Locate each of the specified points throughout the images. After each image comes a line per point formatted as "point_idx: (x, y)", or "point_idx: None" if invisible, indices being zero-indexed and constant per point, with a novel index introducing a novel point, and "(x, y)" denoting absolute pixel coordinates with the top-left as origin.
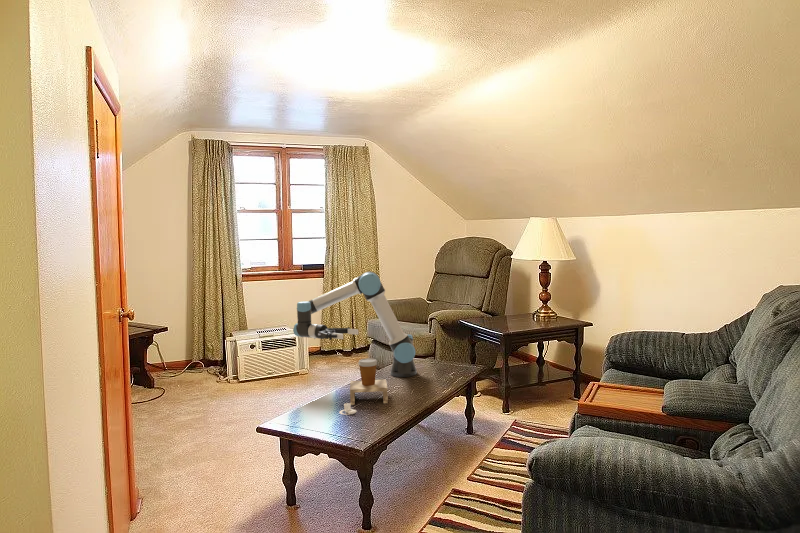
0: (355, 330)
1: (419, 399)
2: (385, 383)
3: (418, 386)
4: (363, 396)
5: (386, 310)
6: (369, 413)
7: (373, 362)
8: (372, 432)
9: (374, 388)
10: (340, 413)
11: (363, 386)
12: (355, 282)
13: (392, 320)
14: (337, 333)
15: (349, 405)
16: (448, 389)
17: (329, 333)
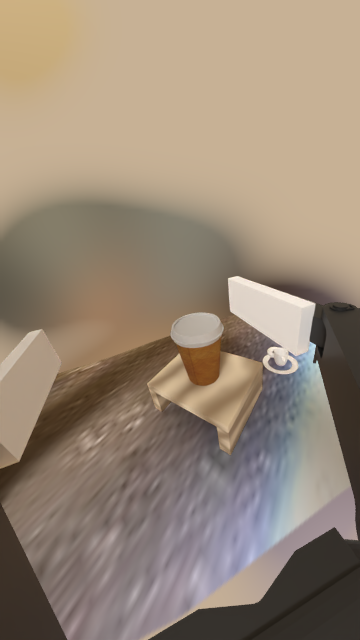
0: (38, 347)
1: (147, 356)
2: (173, 361)
3: (74, 409)
4: (206, 423)
5: None
6: (246, 345)
7: (193, 314)
8: None
9: None
10: (296, 361)
11: (223, 366)
12: None
13: None
14: (262, 287)
15: (278, 348)
16: (79, 369)
17: (353, 306)
